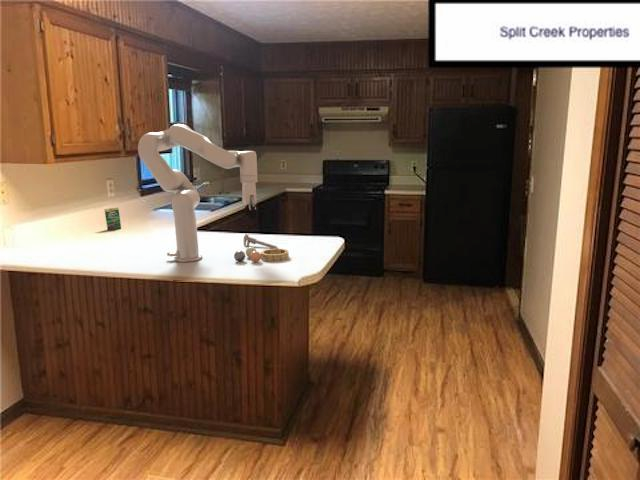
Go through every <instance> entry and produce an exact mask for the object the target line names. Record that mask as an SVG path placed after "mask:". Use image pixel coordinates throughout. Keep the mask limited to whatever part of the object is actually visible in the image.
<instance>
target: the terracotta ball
mask: <svg viewBox="0 0 640 480" xmlns="http://www.w3.org/2000/svg"><path fill="white" fill-rule="evenodd" d="M249 260H250V261H251V262H253V263H259V261H261V260H262V259H261V252H260V251H257V250H256V251H253V252H252V253H251V254H250V257H249Z"/></svg>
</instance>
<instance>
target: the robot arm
mask: <svg viewBox="0 0 640 480" xmlns="http://www.w3.org/2000/svg"><path fill="white" fill-rule="evenodd" d="M178 146H180V147H181V148H184V149H186V150H189V151H190V152H192V153H194V154H197V155H198V156H200V157H202V158H203V159H205V160H207V161H209V162H210V163H212V164H213V165H214V164H215V165H216V166H218V167H221V168H223V169H227V170H229V169H230V170H231V169H234V168H239V172H240V175H239V177H240V183H242V184H241V185H242V187H241V190H242V191H241V193H242V196H241V197H242V198H241V202H242V204H244V215H245V216H248V218H249V220H254V219H257V217H258V216H257V206H256V205H257V187H256V183H258V162H257V161H258V159H257V156H258V155H257V153H256V151H254V150H243V151H239V150H226V149H224V148H223V147H220V146H218V145H216V144H215V143H213V142H211V141H210V139H209V138H208V137H207V136H205V135H203V134H201V133H199V132H197V131H195V130H193V129H191V128H190V126H188V125H186V124H182V123H177V124H172V125H171V126H170V127H169V128H168V129H166V130H161V131H158V132H154V131H153V132H147V133H145V134H143V135H142V136H141V138H140V139H139V142H138V145H137V152H138V157H139V159H140V160H141V162H142V163H143V164H144V166H145V167H146V168H147V170H148V172H149V173H150V174H151V176H152V177H153V178H154V180H155V181H156V183H157V184H158V185H159V187H160V188H161V189H162V190H163V191H165V192H168V193H173V194H174V195H173V196H172V198H171V209H172V212H173V219H174V227H175V228H174V229H175V239H176V240H175V243H176V250H174V251H167V252H166V254H167V257H169V256H170V257H174V261H175V262H180V263H181V262H182V263H188V262H189V263H190V262H194V261H199V260H201V259H203V254H201V253H200V252H199V241H198V240H199V239H198V226H197V218H196V217H197V216H196V212H195V208H197V206H198V205H199V204H200V200H201V198H200V195H199V192H198V190H197V188H195V186H194V185H193V183H191V181H190V179H188V177H187V175H186V174H184V173H183V172H182V171H180V170H178V169H173V168H172V167H171V166H170V165H169V164H168V162H167V160H166V159H165V158H164V157H163V156H162V155H161V154H160V152H163V151H167V150H170V149H173V148H176V147H178Z"/></svg>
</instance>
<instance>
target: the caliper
mask: <svg viewBox="0 0 640 480" xmlns="http://www.w3.org/2000/svg"><path fill="white" fill-rule="evenodd" d="M250 244H253V245H256V244H257V245H261V246H264V247H266V248H269V249H279V247H278V246H277V245H274V244H270V243H268V242H265V241H260V240H259V239H257V238H254V237H251V236H249V234H247V233H245V235H244V236H243V246H246V247H250Z"/></svg>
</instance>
